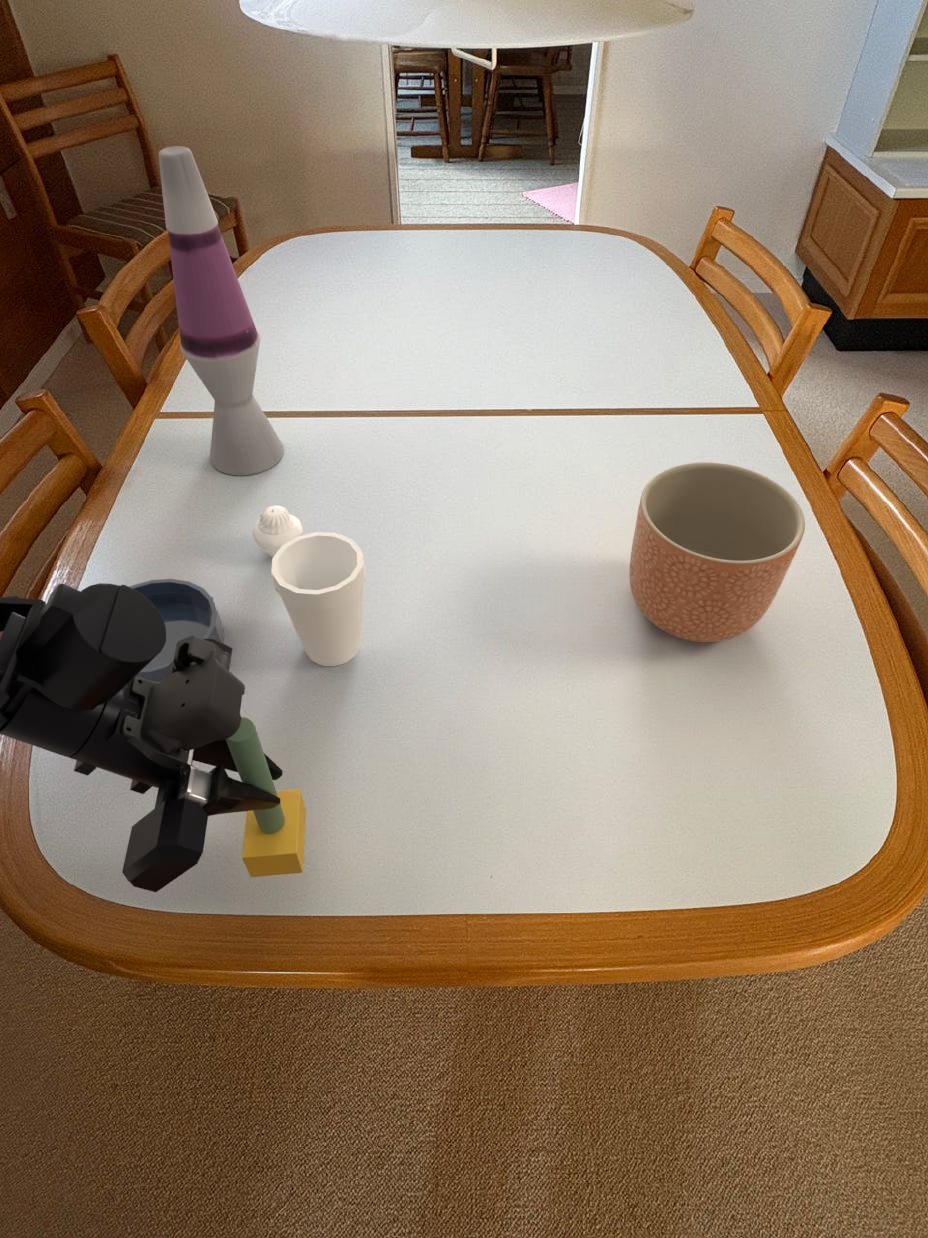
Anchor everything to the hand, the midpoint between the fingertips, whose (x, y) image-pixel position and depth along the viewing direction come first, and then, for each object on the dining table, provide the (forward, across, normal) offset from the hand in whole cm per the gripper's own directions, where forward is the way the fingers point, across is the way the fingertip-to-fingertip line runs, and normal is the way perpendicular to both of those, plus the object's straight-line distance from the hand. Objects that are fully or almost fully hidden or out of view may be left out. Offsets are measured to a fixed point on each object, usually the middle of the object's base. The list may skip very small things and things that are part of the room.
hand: (278, 789), depth 62 cm
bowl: (-3, +28, +22) cm, 36 cm away
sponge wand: (+5, 0, +7) cm, 9 cm away
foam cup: (+11, +27, +8) cm, 30 cm away
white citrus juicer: (+6, +43, +13) cm, 46 cm away
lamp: (+2, +65, +17) cm, 68 cm away
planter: (+41, +29, -22) cm, 55 cm away
